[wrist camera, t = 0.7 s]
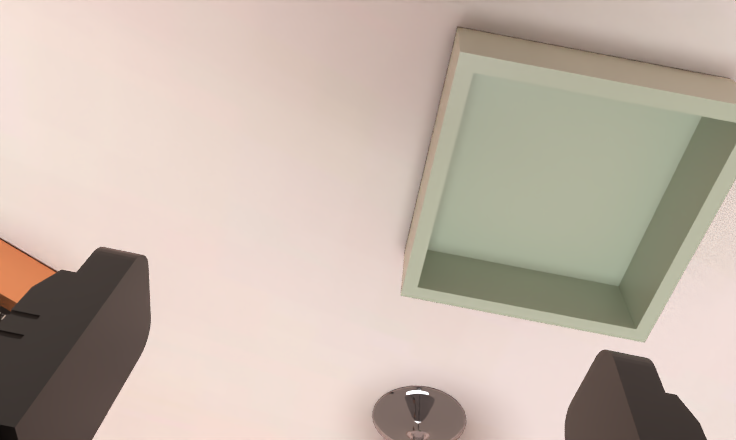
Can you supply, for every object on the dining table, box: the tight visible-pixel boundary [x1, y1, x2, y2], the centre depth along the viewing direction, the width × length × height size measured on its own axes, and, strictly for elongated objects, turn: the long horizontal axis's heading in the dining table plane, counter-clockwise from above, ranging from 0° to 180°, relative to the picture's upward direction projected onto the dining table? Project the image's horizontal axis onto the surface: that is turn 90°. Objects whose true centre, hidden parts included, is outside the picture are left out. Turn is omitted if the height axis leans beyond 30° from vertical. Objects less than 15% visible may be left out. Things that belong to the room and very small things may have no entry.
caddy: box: [401, 27, 736, 342], centre depth 32 cm, size 14×14×4 cm
